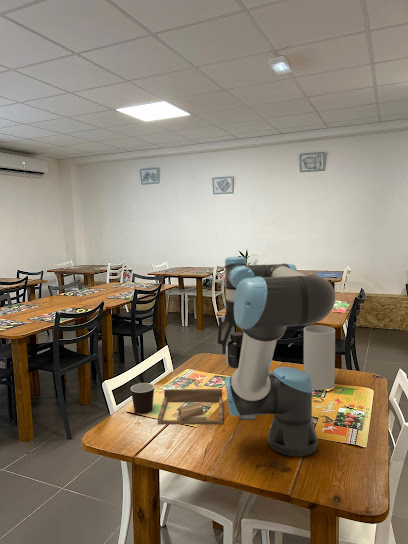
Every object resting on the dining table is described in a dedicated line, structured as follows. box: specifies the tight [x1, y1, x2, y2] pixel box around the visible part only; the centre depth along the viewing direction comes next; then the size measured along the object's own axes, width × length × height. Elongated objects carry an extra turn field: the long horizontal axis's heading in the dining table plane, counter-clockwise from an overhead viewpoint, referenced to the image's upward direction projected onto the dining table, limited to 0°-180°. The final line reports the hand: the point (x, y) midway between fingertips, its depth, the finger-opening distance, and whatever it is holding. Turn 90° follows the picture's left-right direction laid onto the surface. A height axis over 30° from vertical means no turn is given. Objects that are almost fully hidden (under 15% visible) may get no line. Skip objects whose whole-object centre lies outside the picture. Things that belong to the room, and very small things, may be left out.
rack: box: [157, 388, 224, 425], centre depth 145 cm, size 18×22×6 cm
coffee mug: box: [130, 382, 155, 416], centre depth 148 cm, size 12×9×10 cm
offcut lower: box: [176, 411, 207, 420], centre depth 140 cm, size 4×10×3 cm, turn 91°
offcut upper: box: [177, 402, 204, 419], centre depth 140 cm, size 4×8×3 cm, turn 115°
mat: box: [238, 415, 257, 421], centre depth 146 cm, size 12×12×1 cm
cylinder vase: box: [303, 324, 336, 390], centre depth 165 cm, size 12×12×25 cm
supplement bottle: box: [227, 331, 244, 370], centre depth 144 cm, size 7×7×12 cm
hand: (237, 361), depth 144 cm, fingers closed on supplement bottle, 7 cm apart
